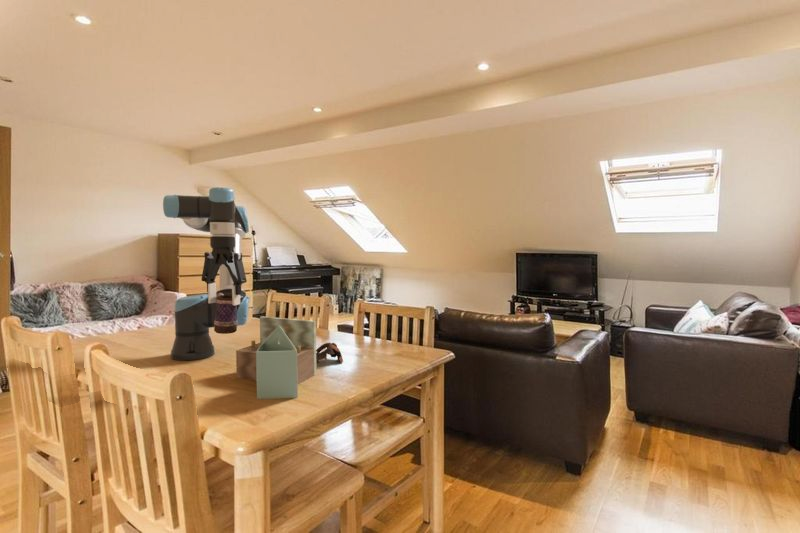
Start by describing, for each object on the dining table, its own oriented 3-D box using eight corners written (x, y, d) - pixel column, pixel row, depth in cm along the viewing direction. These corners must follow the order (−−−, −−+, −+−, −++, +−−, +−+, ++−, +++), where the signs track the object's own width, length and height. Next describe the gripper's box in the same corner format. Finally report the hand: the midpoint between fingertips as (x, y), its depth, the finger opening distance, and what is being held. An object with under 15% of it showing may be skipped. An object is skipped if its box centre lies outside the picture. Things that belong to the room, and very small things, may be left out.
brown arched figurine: (342, 367, 148) (330, 349, 146) (320, 377, 150) (308, 359, 148) (348, 350, 160) (337, 333, 158) (327, 360, 162) (316, 343, 160)
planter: (241, 392, 123) (239, 325, 121) (264, 385, 129) (263, 321, 128) (274, 405, 113) (273, 333, 111) (298, 397, 119) (297, 328, 118)
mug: (240, 332, 137) (242, 296, 136) (218, 335, 133) (219, 298, 131) (228, 325, 145) (229, 291, 144) (207, 327, 140) (208, 292, 139)
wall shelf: (236, 377, 135) (235, 323, 134) (263, 366, 147) (262, 316, 146) (293, 386, 127) (292, 328, 126) (316, 374, 139) (315, 321, 138)
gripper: (187, 235, 137) (189, 303, 138) (241, 235, 129) (242, 307, 130) (206, 235, 144) (207, 300, 145) (257, 236, 136) (259, 304, 137)
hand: (224, 303), depth 138 cm, fingers closed on mug, 9 cm apart
